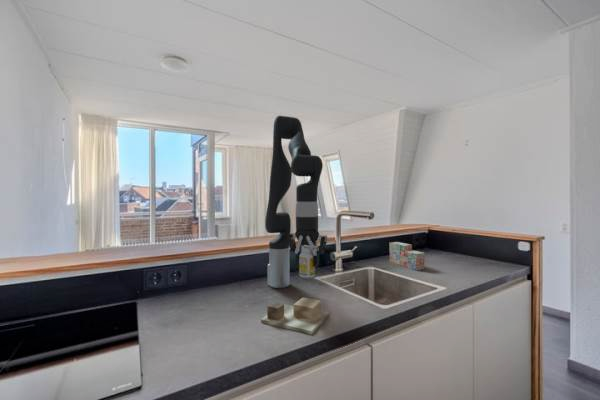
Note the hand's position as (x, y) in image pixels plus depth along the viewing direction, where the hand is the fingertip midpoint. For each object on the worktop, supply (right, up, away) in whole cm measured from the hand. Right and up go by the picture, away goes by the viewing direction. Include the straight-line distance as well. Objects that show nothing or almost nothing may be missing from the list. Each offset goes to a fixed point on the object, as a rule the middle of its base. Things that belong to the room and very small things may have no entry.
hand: (307, 265), depth 94 cm
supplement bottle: (0, -4, 0) cm, 4 cm away
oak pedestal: (0, -18, 0) cm, 18 cm away
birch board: (-4, -18, -1) cm, 18 cm away
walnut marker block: (-10, -18, -2) cm, 21 cm away
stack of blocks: (+59, -16, +68) cm, 92 cm away
